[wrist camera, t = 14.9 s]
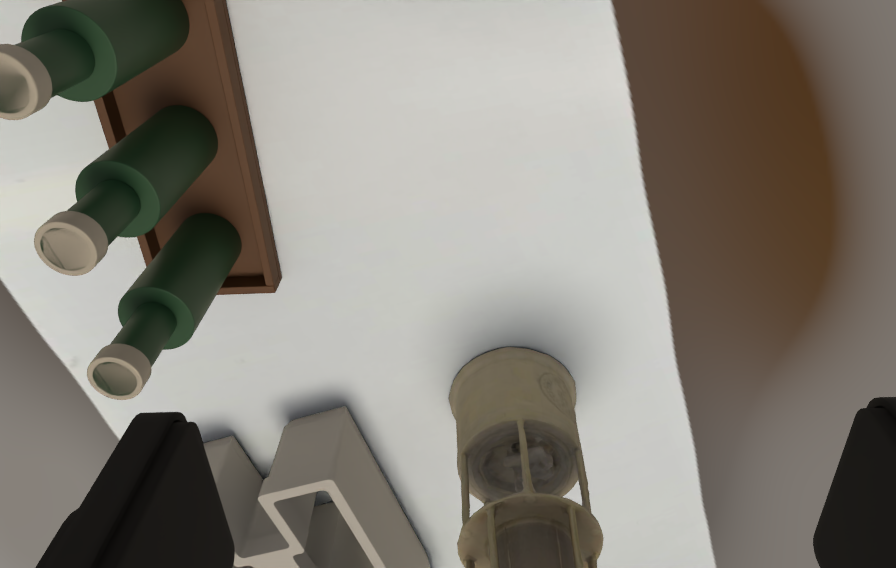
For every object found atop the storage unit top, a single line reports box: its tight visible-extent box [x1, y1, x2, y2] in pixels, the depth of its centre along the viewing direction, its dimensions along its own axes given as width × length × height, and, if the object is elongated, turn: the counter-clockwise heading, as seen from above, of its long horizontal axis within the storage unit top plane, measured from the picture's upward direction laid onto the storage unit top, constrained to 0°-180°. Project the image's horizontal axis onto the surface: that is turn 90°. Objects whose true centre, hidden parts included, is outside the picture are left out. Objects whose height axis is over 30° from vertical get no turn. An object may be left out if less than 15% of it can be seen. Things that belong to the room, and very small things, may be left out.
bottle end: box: [87, 213, 242, 400], centre depth 42 cm, size 4×4×16 cm
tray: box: [62, 0, 282, 295], centre depth 44 cm, size 22×9×2 cm, turn 3°
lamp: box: [449, 347, 603, 568], centre depth 44 cm, size 10×13×30 cm
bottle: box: [0, 0, 189, 120], centre depth 34 cm, size 4×4×16 cm
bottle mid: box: [34, 105, 218, 276], centre depth 38 cm, size 4×4×16 cm
